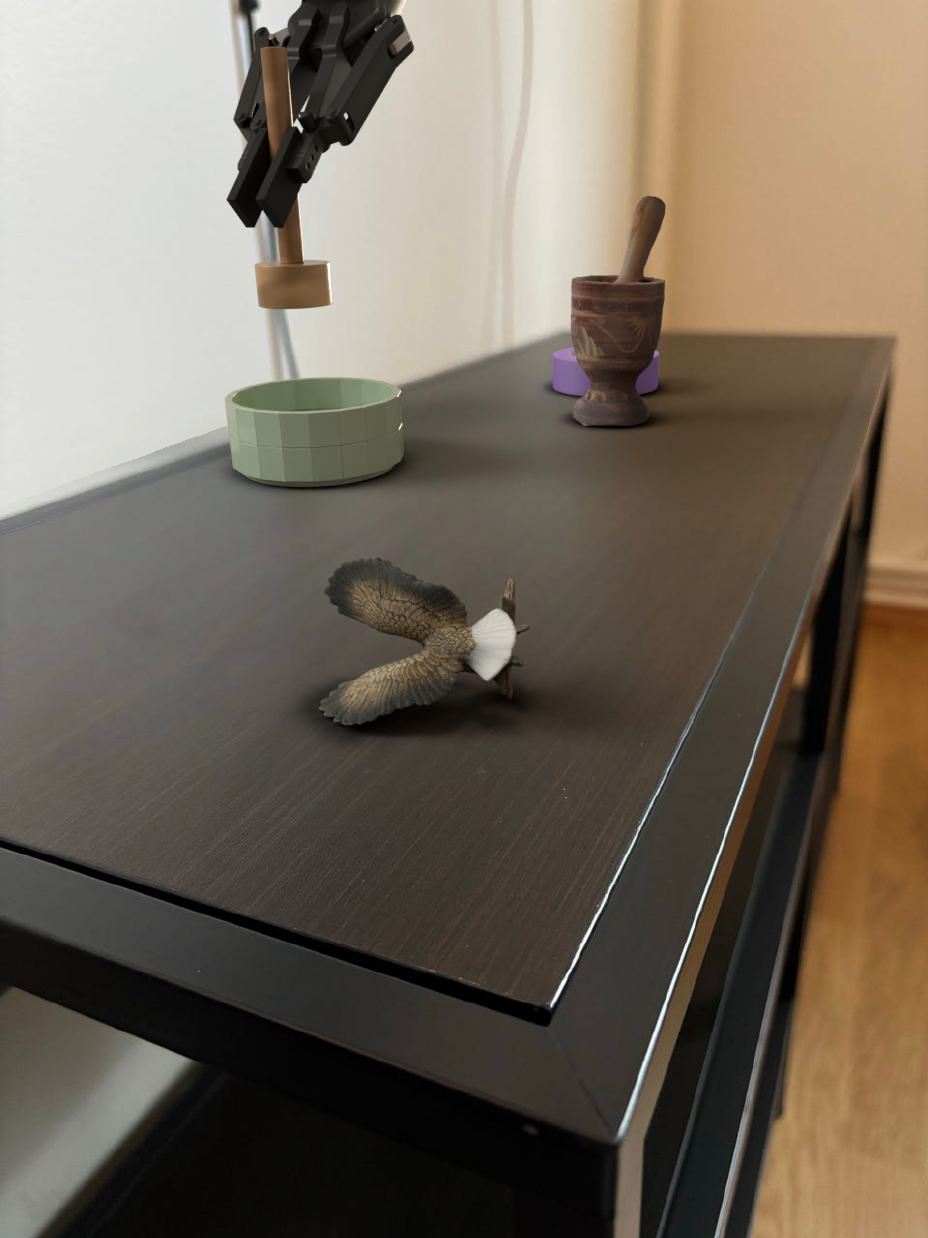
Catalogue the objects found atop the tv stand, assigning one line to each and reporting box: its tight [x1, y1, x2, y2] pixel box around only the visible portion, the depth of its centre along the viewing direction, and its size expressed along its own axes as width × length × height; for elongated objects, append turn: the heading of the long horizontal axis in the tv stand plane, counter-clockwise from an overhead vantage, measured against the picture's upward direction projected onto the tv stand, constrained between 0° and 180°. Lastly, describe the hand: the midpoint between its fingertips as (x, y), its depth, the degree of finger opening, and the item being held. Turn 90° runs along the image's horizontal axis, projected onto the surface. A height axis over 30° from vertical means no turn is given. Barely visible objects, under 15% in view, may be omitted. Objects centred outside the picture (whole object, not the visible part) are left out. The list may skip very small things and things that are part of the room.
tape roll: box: [552, 347, 660, 397], centre depth 110 cm, size 12×12×4 cm
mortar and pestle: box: [570, 195, 667, 427], centre depth 94 cm, size 12×9×20 cm
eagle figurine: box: [318, 556, 530, 726], centre depth 45 cm, size 8×7×9 cm
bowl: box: [224, 376, 405, 488], centre depth 82 cm, size 14×14×6 cm
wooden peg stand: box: [254, 47, 334, 310], centre depth 72 cm, size 6×6×17 cm
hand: (255, 213), depth 69 cm, fingers closed on wooden peg stand, 2 cm apart
